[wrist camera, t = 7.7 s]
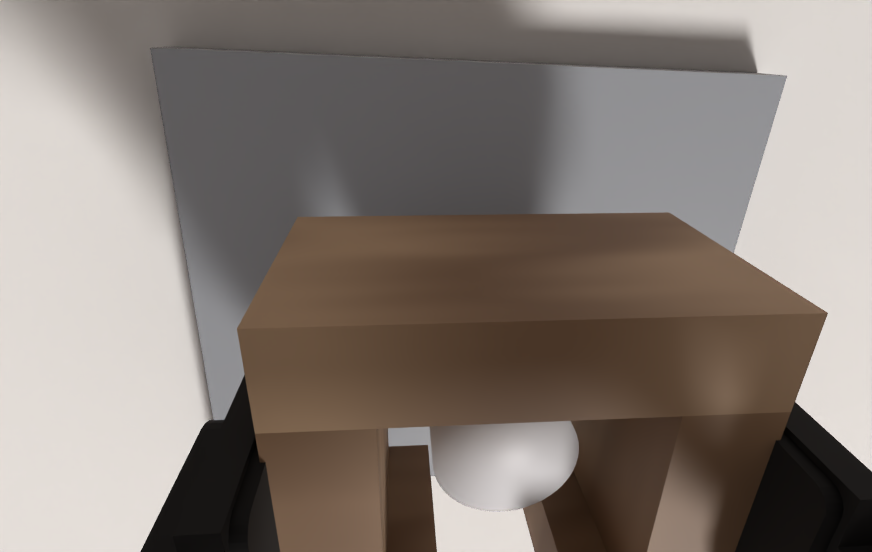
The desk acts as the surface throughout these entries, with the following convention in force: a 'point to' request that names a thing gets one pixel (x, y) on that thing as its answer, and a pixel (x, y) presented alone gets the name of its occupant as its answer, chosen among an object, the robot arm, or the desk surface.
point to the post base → (440, 185)
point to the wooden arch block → (521, 373)
